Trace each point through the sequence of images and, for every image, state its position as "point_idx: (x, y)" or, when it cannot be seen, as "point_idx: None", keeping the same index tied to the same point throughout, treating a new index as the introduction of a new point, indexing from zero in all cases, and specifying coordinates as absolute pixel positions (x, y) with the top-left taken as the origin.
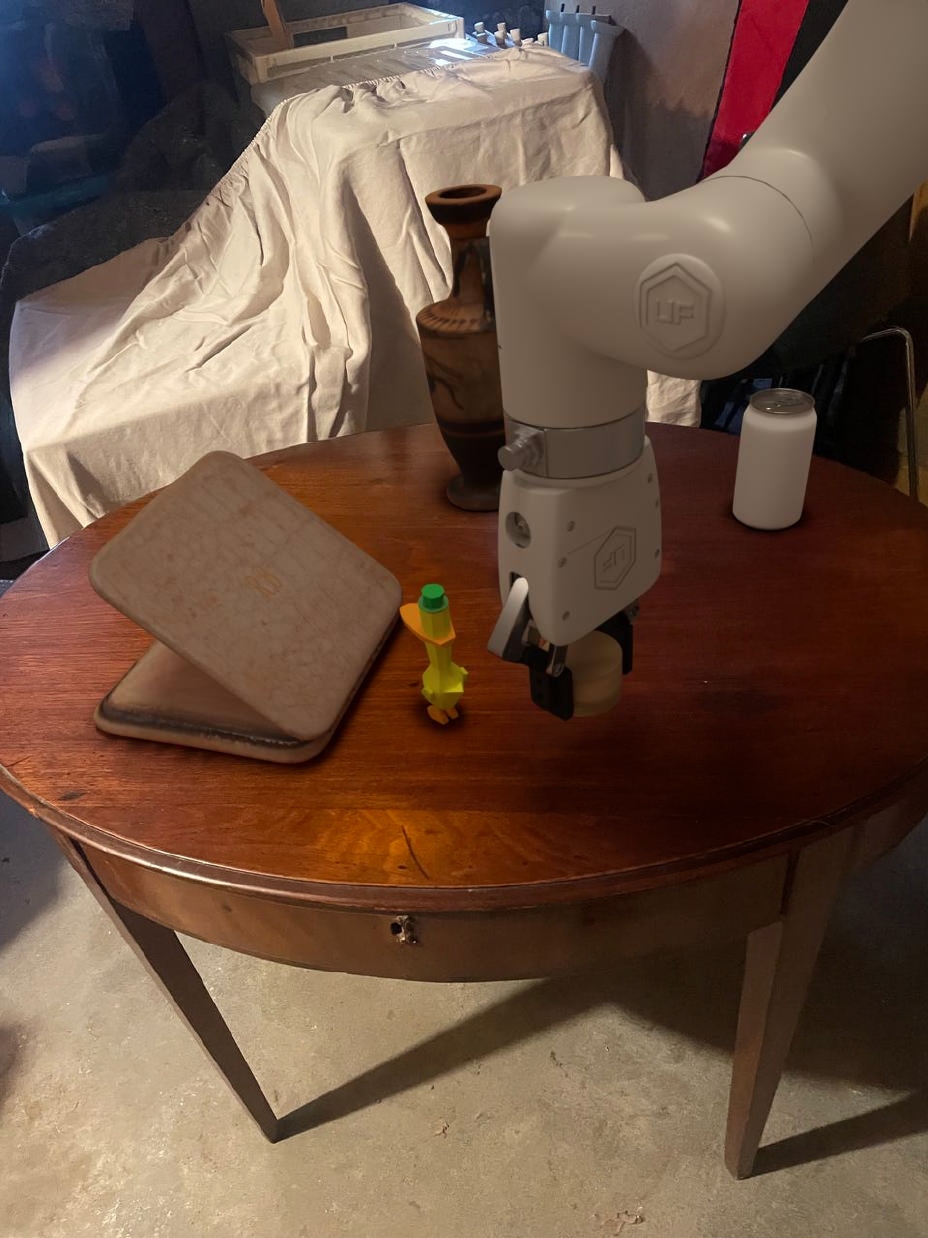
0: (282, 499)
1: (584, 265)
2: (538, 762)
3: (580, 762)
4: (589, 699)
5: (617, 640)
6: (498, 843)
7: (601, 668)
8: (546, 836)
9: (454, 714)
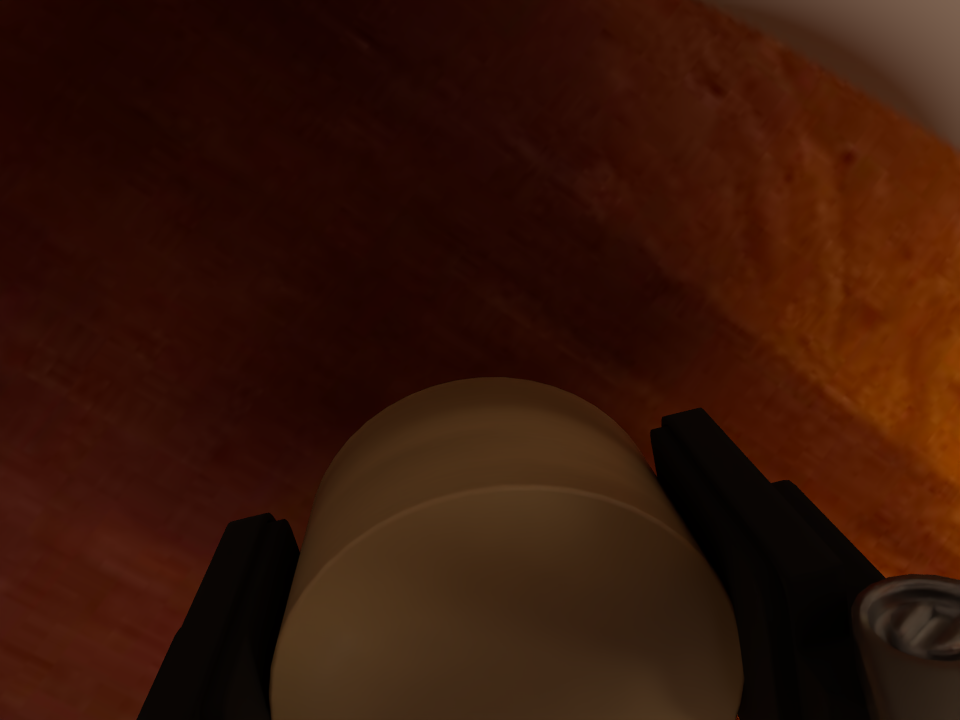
0: None
1: None
2: None
3: None
4: (592, 433)
5: (259, 686)
6: (858, 262)
7: (505, 537)
8: (737, 206)
9: None
